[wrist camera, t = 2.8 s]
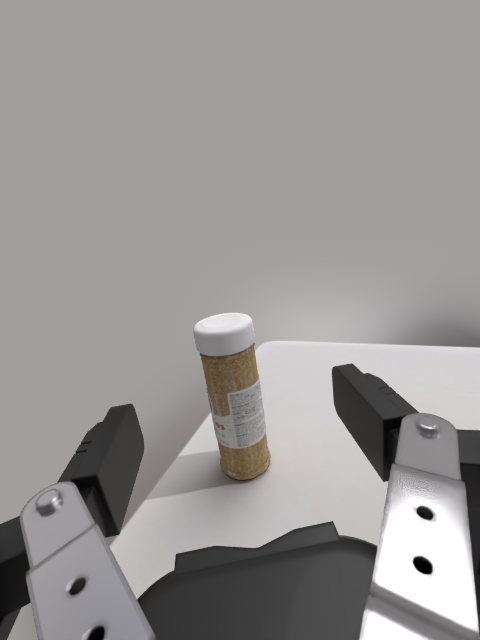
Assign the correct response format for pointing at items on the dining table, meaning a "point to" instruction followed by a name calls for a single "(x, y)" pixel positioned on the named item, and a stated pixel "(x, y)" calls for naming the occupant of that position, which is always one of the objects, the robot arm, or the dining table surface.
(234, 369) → the sprinkles bottle
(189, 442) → the dining table surface
